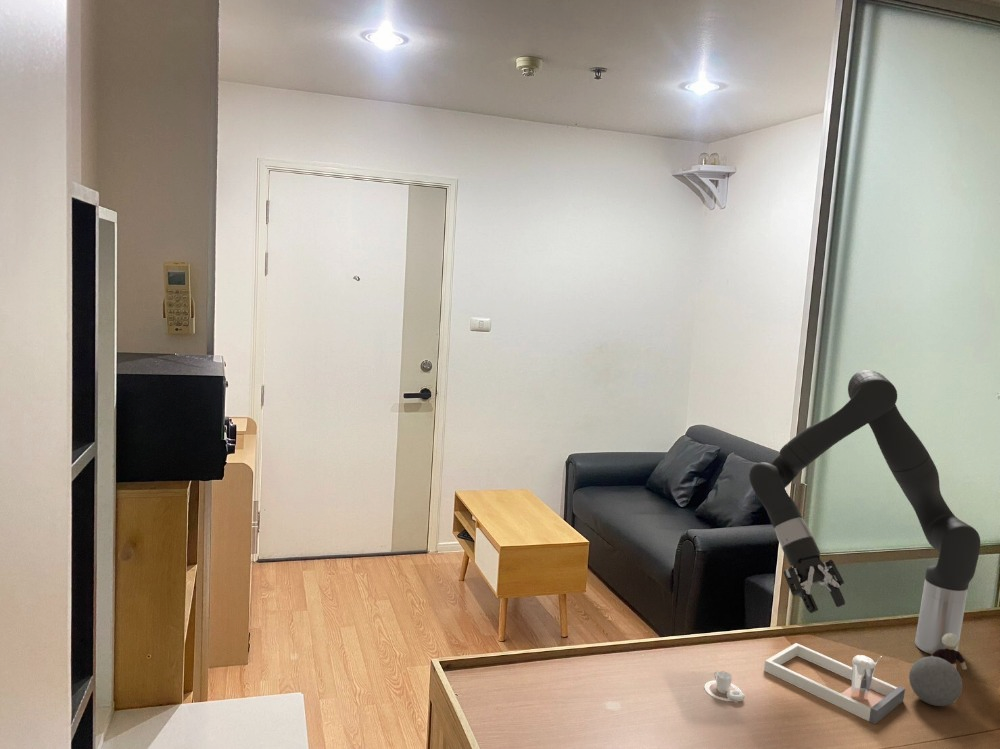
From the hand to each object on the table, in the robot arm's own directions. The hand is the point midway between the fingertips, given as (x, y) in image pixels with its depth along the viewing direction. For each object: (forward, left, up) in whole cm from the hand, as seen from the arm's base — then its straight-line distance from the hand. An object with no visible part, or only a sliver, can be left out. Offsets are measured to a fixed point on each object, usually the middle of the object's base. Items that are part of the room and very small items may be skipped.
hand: (828, 608), depth 178 cm
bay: (+4, +5, -15) cm, 16 cm away
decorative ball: (-8, +21, -15) cm, 27 cm away
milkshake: (+4, +11, -15) cm, 19 cm away
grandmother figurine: (-17, +20, -15) cm, 30 cm away
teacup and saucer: (+29, -8, -16) cm, 34 cm away
